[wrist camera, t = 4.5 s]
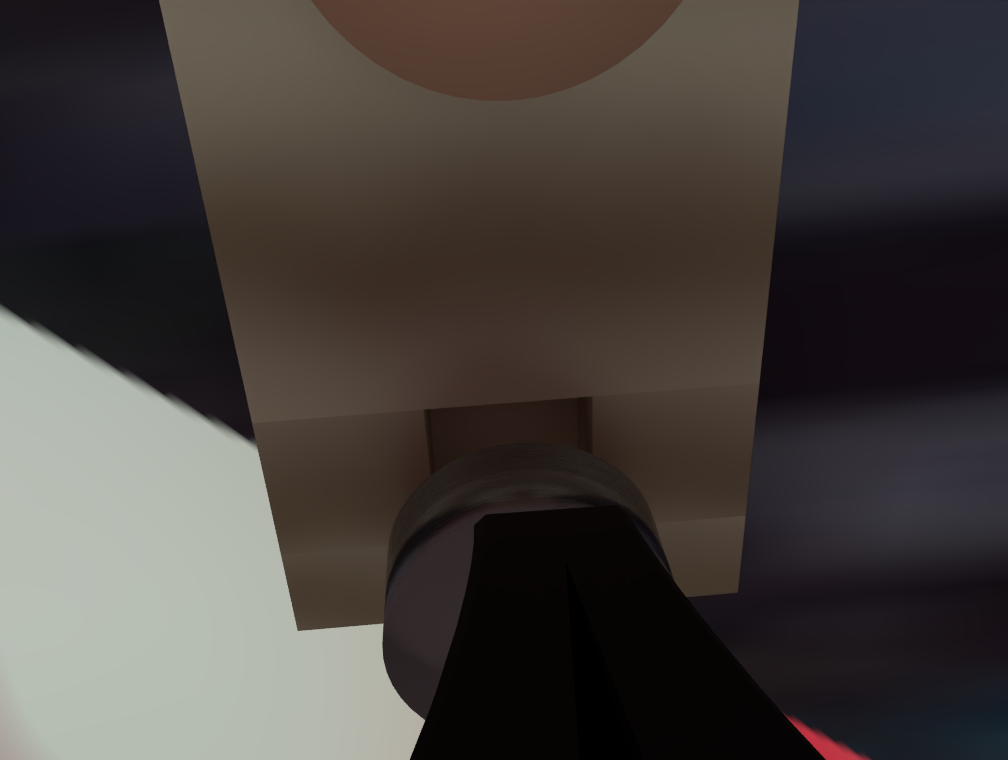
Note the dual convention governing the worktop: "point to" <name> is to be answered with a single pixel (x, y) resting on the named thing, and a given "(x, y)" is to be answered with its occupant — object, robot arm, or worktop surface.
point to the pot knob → (497, 41)
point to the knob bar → (489, 273)
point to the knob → (450, 537)
